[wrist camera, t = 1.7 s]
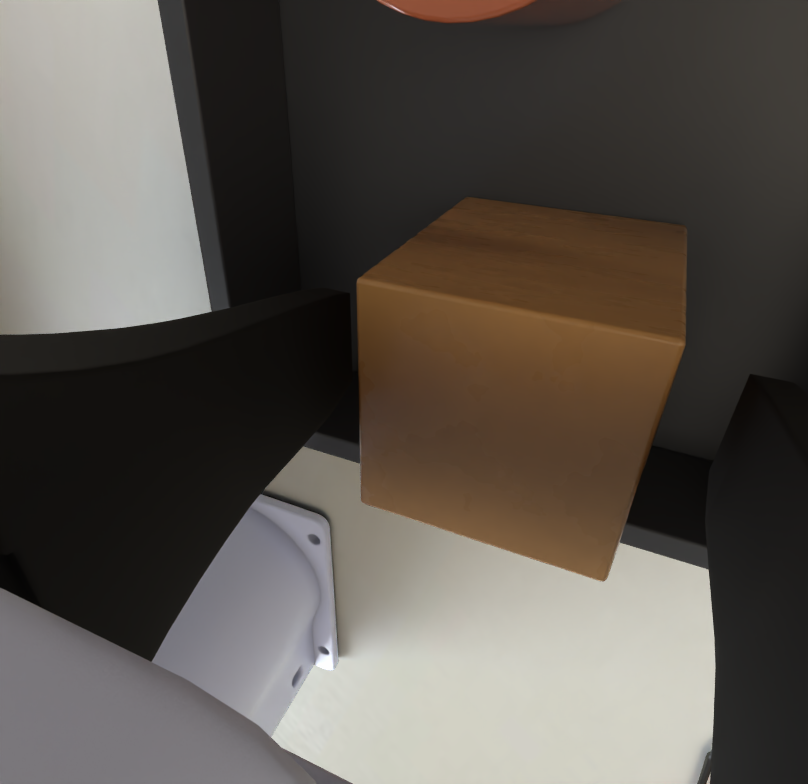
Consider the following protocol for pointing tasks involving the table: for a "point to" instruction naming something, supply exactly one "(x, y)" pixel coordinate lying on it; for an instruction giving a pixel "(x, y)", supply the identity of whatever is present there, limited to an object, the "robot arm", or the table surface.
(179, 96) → the tray
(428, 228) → the block
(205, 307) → the table surface
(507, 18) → the canister
